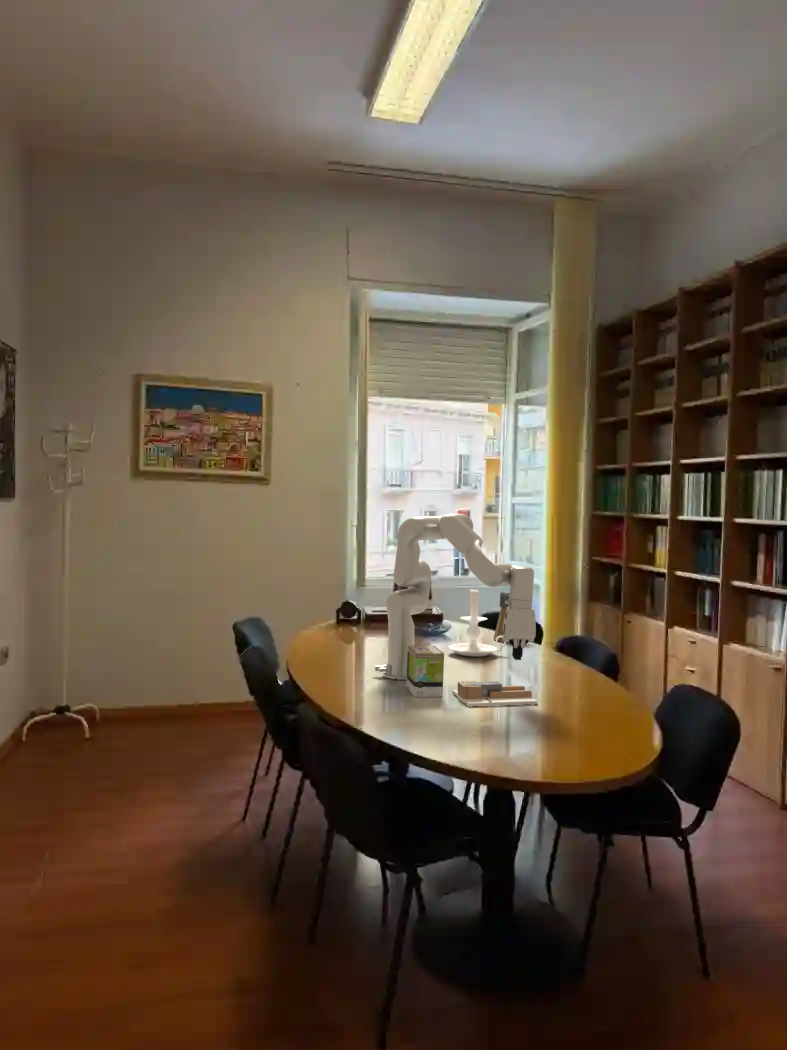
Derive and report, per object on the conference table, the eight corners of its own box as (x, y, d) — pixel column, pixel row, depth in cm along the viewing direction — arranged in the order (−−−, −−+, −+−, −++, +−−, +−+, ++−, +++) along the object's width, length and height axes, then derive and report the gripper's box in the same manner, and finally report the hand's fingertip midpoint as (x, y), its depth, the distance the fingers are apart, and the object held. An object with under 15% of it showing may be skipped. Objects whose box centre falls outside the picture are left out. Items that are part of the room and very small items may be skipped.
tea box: (443, 697, 266) (444, 652, 265) (413, 698, 264) (414, 653, 264) (434, 686, 281) (435, 644, 280) (405, 687, 279) (406, 644, 279)
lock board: (468, 707, 254) (468, 690, 254) (452, 693, 271) (452, 677, 271) (537, 704, 258) (537, 688, 258) (517, 691, 276) (517, 676, 276)
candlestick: (511, 660, 329) (513, 592, 328) (451, 659, 328) (452, 591, 327) (502, 650, 350) (504, 586, 349) (445, 650, 349) (447, 585, 348)
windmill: (520, 645, 364) (522, 579, 363) (489, 643, 368) (490, 577, 367) (526, 637, 384) (528, 574, 383) (496, 635, 388) (498, 573, 387)
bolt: (466, 697, 261) (466, 685, 261) (462, 694, 265) (463, 682, 265) (501, 696, 263) (502, 684, 263) (497, 693, 267) (498, 681, 267)
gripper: (502, 605, 260) (499, 661, 262) (546, 606, 264) (542, 662, 265) (495, 601, 268) (491, 656, 269) (537, 602, 271) (534, 656, 272)
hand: (517, 659), depth 267 cm, fingers closed
